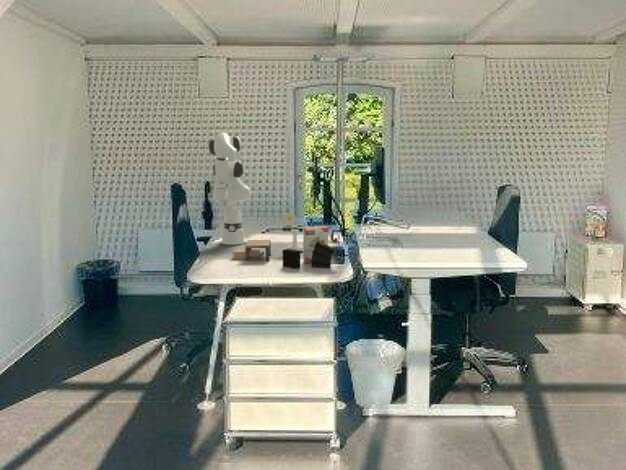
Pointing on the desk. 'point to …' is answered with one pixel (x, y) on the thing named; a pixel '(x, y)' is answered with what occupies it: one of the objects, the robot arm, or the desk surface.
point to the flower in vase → (294, 245)
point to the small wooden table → (258, 244)
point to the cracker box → (313, 240)
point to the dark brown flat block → (322, 255)
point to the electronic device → (291, 258)
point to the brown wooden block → (242, 254)
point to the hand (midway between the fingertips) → (223, 206)
